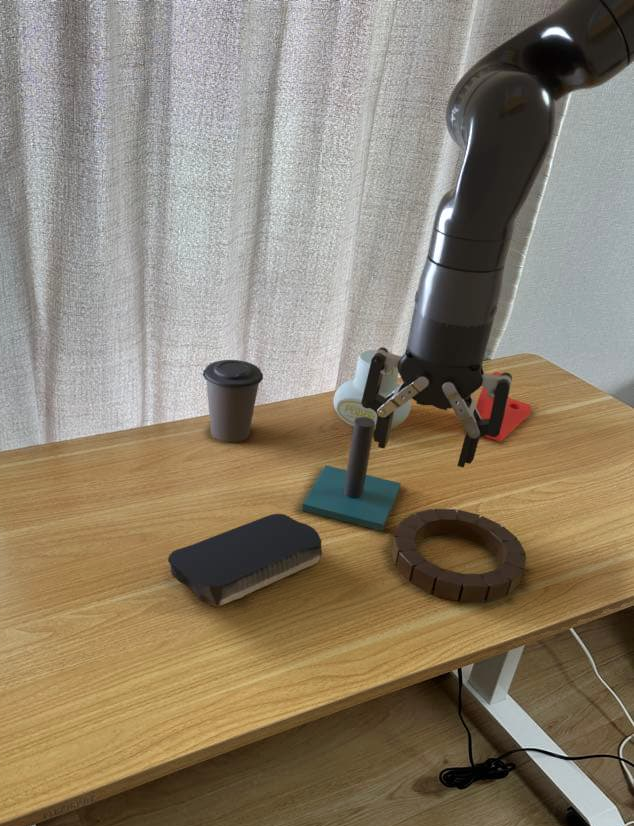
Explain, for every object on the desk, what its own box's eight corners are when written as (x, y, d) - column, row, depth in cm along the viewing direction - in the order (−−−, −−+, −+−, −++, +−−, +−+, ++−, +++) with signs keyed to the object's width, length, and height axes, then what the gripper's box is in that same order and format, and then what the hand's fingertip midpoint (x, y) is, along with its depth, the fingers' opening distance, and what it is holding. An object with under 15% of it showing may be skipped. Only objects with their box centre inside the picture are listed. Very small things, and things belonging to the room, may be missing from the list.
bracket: (499, 441, 114) (513, 391, 110) (470, 431, 116) (482, 380, 112) (531, 412, 122) (546, 364, 117) (503, 403, 124) (517, 355, 119)
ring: (526, 542, 95) (531, 527, 94) (513, 617, 84) (519, 601, 83) (405, 512, 99) (409, 497, 98) (379, 580, 88) (382, 564, 87)
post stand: (399, 489, 103) (415, 412, 96) (382, 531, 96) (397, 451, 89) (324, 471, 106) (335, 395, 99) (301, 510, 98) (311, 431, 92)
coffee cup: (241, 453, 108) (245, 385, 102) (190, 436, 112) (191, 369, 106) (269, 429, 114) (274, 363, 108) (219, 413, 117) (222, 349, 111)
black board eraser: (207, 620, 82) (208, 593, 79) (162, 576, 87) (162, 549, 85) (327, 567, 90) (331, 540, 87) (280, 529, 95) (283, 503, 93)
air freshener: (322, 421, 117) (330, 356, 111) (347, 400, 122) (357, 338, 116) (391, 444, 112) (403, 378, 106) (414, 422, 118) (427, 358, 112)
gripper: (535, 308, 77) (493, 453, 87) (390, 282, 81) (365, 424, 91) (527, 336, 72) (483, 488, 82) (372, 306, 76) (348, 454, 85)
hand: (421, 454), depth 86 cm, fingers open, 8 cm apart
